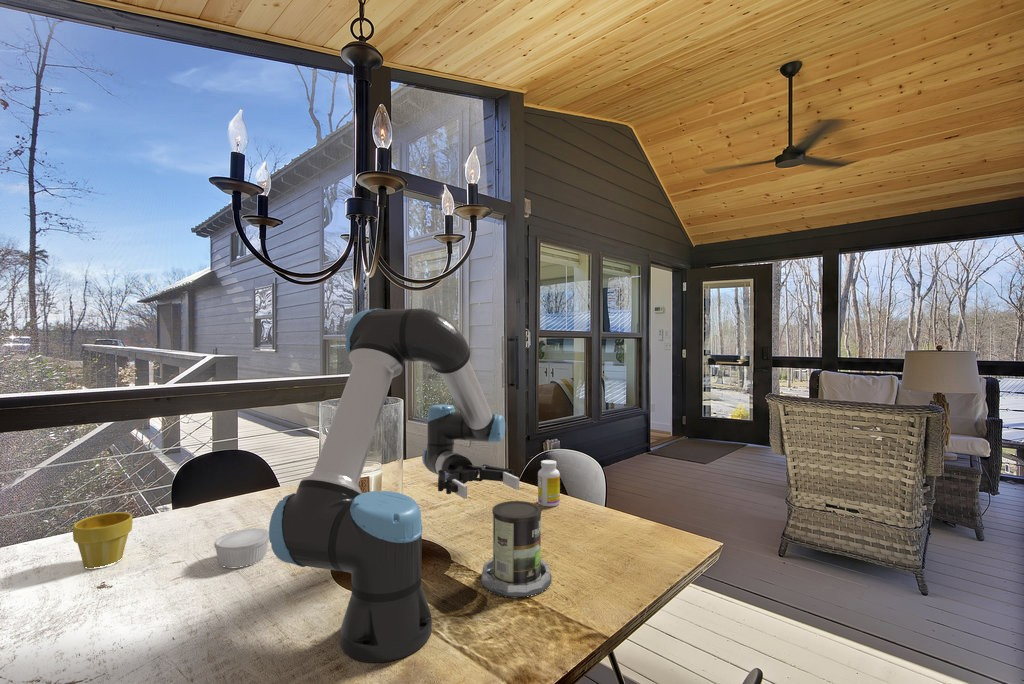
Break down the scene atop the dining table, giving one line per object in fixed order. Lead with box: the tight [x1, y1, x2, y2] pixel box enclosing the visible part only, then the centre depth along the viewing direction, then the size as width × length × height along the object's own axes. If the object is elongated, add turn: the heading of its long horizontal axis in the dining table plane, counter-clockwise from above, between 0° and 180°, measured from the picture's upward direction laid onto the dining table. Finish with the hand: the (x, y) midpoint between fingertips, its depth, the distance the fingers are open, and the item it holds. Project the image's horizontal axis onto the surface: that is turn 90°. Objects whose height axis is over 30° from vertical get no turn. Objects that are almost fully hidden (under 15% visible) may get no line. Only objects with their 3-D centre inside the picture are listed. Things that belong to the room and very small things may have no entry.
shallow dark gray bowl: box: [480, 557, 552, 598], centre depth 104 cm, size 15×15×2 cm
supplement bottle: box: [537, 459, 561, 508], centre depth 151 cm, size 7×7×13 cm
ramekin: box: [213, 527, 270, 568], centre depth 113 cm, size 11×11×5 cm
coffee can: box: [492, 500, 542, 583], centre depth 104 cm, size 10×10×14 cm
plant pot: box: [72, 511, 133, 568], centre depth 111 cm, size 10×10×10 cm
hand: (492, 488), depth 113 cm, fingers open, 13 cm apart
